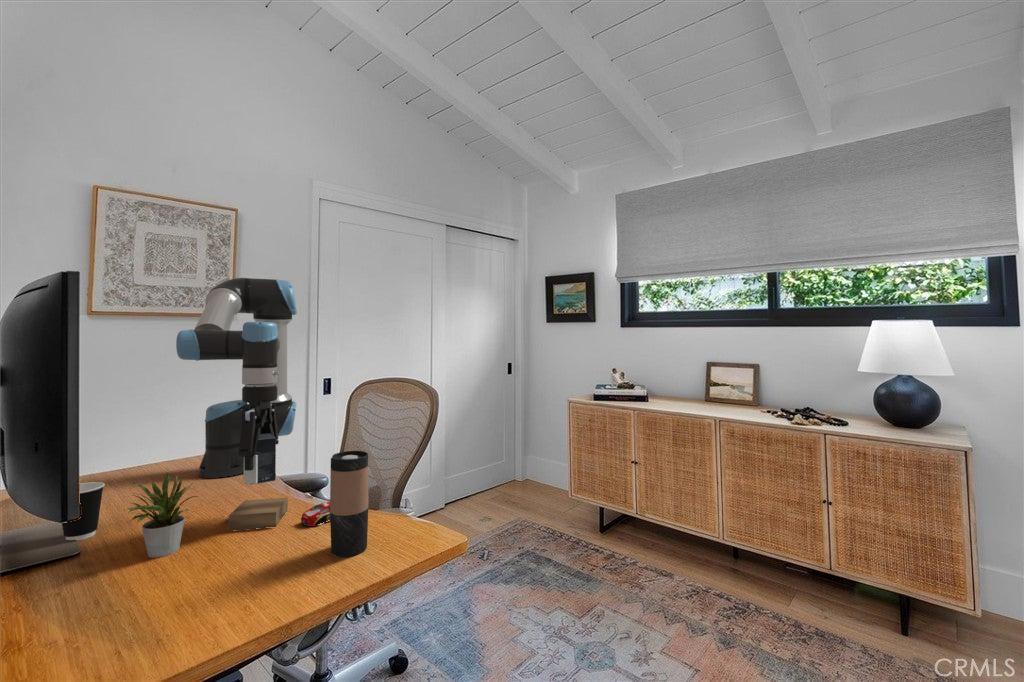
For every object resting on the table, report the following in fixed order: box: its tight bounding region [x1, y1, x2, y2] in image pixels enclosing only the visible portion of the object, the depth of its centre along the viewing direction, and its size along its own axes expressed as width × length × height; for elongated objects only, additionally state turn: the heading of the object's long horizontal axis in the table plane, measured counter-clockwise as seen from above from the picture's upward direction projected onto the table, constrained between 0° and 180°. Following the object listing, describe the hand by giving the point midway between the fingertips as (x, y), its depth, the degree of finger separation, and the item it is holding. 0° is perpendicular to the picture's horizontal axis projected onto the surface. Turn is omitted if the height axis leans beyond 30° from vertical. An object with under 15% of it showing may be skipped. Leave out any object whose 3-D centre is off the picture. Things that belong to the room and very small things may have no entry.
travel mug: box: [329, 450, 369, 558], centre depth 94 cm, size 8×8×20 cm
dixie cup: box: [61, 481, 106, 541], centre depth 100 cm, size 8×8×11 cm
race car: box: [300, 501, 330, 527], centre depth 111 cm, size 13×5×4 cm, turn 142°
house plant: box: [119, 471, 199, 559], centre depth 93 cm, size 14×14×16 cm
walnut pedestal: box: [228, 497, 288, 532], centre depth 108 cm, size 10×10×4 cm
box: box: [249, 433, 277, 486], centre depth 108 cm, size 8×6×11 cm
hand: (259, 476), depth 108 cm, fingers closed on box, 9 cm apart
